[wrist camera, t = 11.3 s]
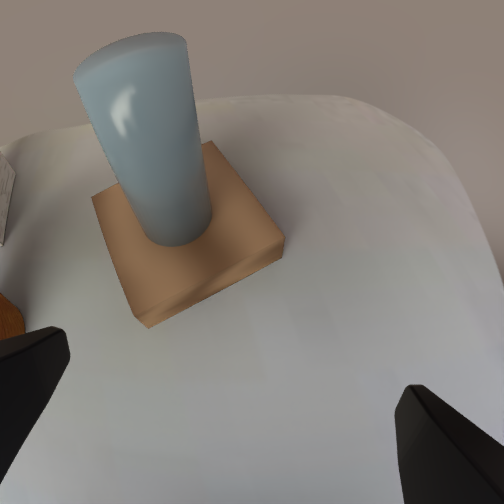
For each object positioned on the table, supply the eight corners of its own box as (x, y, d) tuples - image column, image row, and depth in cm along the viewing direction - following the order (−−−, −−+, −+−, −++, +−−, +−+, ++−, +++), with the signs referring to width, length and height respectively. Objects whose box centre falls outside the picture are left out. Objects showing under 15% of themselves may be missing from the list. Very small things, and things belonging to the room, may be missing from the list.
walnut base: (148, 328, 21) (134, 316, 19) (104, 217, 26) (91, 197, 23) (281, 257, 24) (285, 237, 21) (214, 164, 28) (211, 140, 26)
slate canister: (179, 260, 20) (116, 98, 9) (127, 223, 22) (54, 78, 11) (227, 205, 23) (211, 40, 11) (173, 176, 24) (136, 28, 13)
